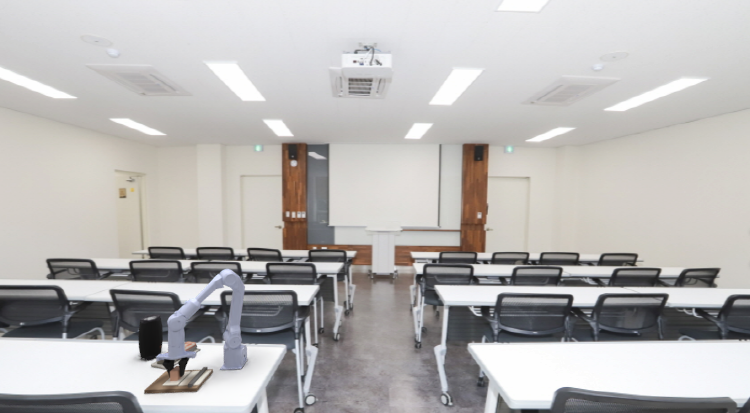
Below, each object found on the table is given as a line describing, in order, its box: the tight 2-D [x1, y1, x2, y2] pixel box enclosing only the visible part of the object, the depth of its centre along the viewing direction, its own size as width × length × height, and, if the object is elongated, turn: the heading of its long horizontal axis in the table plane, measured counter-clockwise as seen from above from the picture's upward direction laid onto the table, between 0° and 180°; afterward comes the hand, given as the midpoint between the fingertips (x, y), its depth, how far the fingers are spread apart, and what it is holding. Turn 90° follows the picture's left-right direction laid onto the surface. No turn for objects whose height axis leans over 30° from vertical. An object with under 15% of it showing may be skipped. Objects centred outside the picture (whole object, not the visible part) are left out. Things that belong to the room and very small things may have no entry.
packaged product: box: [150, 341, 202, 371], centre depth 140 cm, size 18×5×10 cm
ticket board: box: [143, 366, 214, 395], centre depth 121 cm, size 20×13×3 cm, turn 93°
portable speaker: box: [137, 313, 164, 362], centre depth 141 cm, size 9×9×20 cm
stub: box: [162, 365, 191, 386], centre depth 121 cm, size 6×9×4 cm, turn 3°
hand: (176, 375), depth 121 cm, fingers open, 3 cm apart
